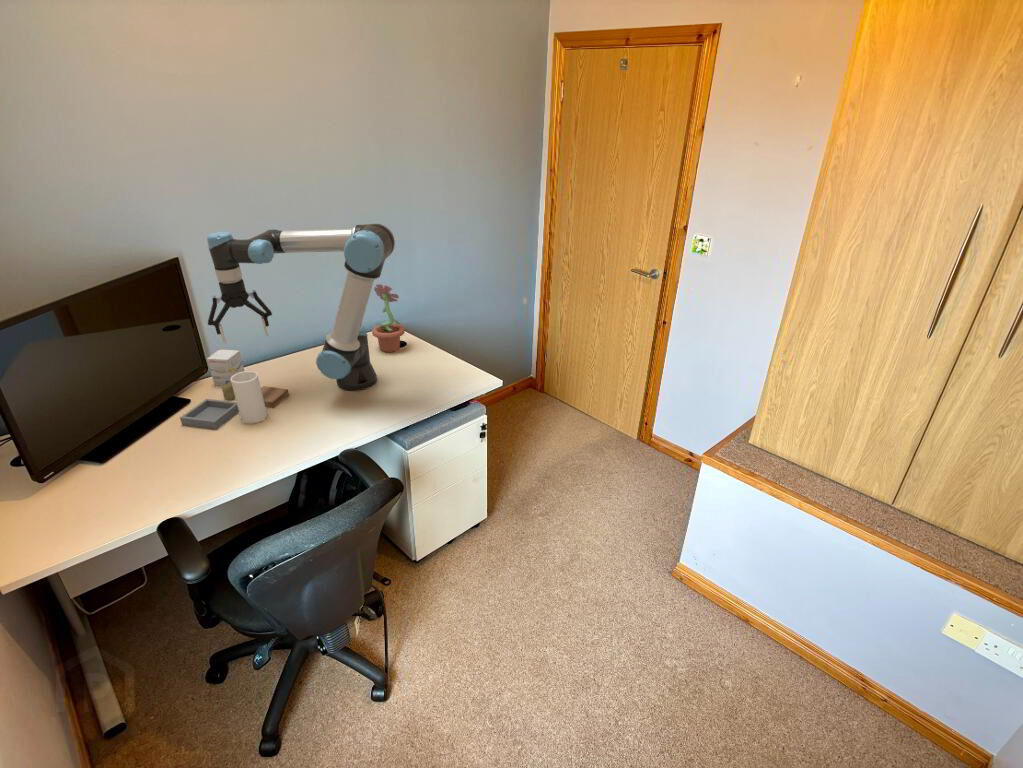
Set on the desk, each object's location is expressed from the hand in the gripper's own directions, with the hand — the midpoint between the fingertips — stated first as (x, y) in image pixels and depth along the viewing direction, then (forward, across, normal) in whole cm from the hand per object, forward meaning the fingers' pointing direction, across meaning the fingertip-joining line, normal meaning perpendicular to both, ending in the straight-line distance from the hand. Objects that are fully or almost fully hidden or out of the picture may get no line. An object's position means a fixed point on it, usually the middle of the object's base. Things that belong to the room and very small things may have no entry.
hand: (246, 338), depth 191 cm
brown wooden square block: (+23, -2, +6) cm, 24 cm away
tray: (+22, +16, +11) cm, 29 cm away
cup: (+23, +3, +17) cm, 29 cm away
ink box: (+22, +10, -16) cm, 29 cm away
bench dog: (+22, +9, -3) cm, 24 cm away
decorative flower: (+24, -55, -19) cm, 63 cm away
